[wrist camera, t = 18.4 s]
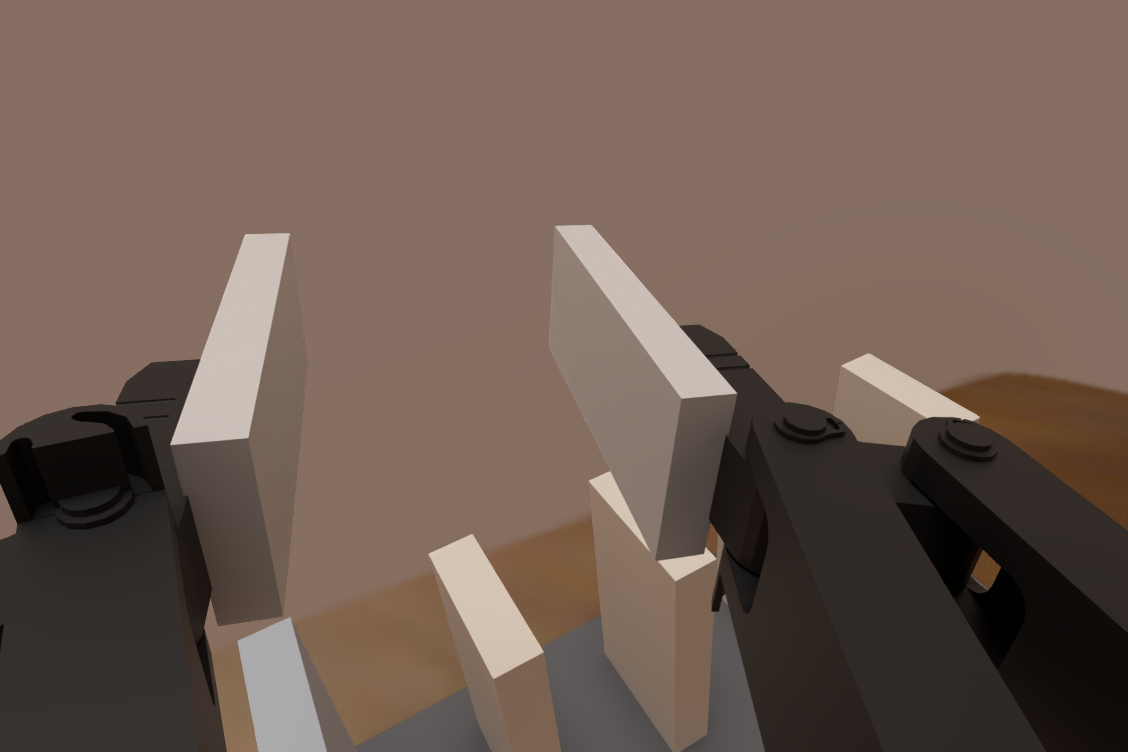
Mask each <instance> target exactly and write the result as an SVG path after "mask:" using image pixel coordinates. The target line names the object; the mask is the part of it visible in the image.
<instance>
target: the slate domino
mask: <svg viewBox="0 0 1128 752" xmlns="http://www.w3.org/2000/svg"><path fill="white" fill-rule="evenodd" d="M238 646H239V651H240V656H241V662H242V667H243V672H244V678H245V683H246V688H247V693H248V699H249V704H250V709H251V714H252V720H253V725H254V730H255V735H256V741H257V746H258V751H259V752H357V750H356V748H355V746H354V744H353V742H352V740H351V738H350V736H349V734H348V732H347V730H346V728H345V726H344V724H343V722H342V720H341V718H340V716H339V714H338V712H337V710H336V708H335V706H334V704H333V702H332V700H331V698H330V696H329V694H328V692H327V690H326V688H325V686H324V684H323V682H322V680H321V678H320V676H319V674H318V672H317V670H316V668H315V666H314V664H313V662H312V660H311V658H310V656H309V654H308V652H307V650H306V648H305V646H304V644H303V641H302V639H301V637H300V635H299V633H298V631H297V629H296V627H295V625H294V623H293V621H292V619H291V617H289V618H287V619H285V620H283V621H281V622H278V623H276V624H274V625H272V626H270V627H267V628H265V629H263V630H261V631H259V632H256V633H254V634H252V635H250V636H248V637H245V638H243V639H241V640H239V641H238Z"/></svg>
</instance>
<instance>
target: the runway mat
mask: <svg viewBox="0 0 1128 752" xmlns="http://www.w3.org/2000/svg"><path fill="white" fill-rule="evenodd" d="M713 556H714V557H715V558H716V559H717V554H715V555H713ZM716 566H717V564H716ZM971 577H972V576H971ZM972 578H973V577H972ZM973 579H974V580H975V581H976V582H977V583H978V584H980V585H981V586H982V587H984V588H985V589H987V590H989V589H988V588H987V587H985V586H984V585H983V584H981V583H980V582H979V581H977V580H976V579H975V578H973ZM541 648H542V650H543V652H544V656H545V662H546V667H547V673H548V679H549V684H550V690H551V696H552V702H553V707H554V713H555V719H556V724H557V730H558V736H559V742H560V747H561V752H672V750H671V749H670V748H669V746H668V745H667V743H666V742H665V740H664V739H663V737H662V736H661V734H660V733H659V732H658V730H657V729H656V727H655V726H654V724H653V723H652V721H651V720H650V718H649V717H648V716H647V714H646V713H645V711H644V710H643V708H642V707H641V705H640V704H639V702H638V701H637V700H636V698H635V697H634V695H633V694H632V692H631V691H630V689H629V688H628V686H627V685H626V684H625V682H624V681H623V679H622V678H621V676H620V675H619V673H618V672H617V670H616V669H615V667H614V666H613V665H612V663H611V662H610V660H609V659H608V657H607V656H606V654H605V653H604V642H603V631H602V620H601V616H599V617H597V618H595V619H593V620H591V621H590V622H588V623H586V624H584V625H582V626H580V627H578V628H577V629H575V630H573V631H571V632H569V633H567V634H565V635H563V636H562V637H560V638H558V639H556V640H554V641H552V642H550V643H548V644H547V645H545V646H543V647H541ZM355 748H356V750H357V752H491V750H490V748H489V745H488V743H487V741H486V739H485V737H484V735H483V733H482V731H481V728H480V726H479V724H478V721H477V718H476V715H475V711H474V708H473V704H472V701H471V698H470V694H469V691H468V687H466V688H464V689H462V690H461V691H459V692H457V693H455V694H453V695H451V696H449V697H447V698H446V699H444V700H442V701H440V702H438V703H436V704H434V705H433V706H431V707H429V708H427V709H425V710H423V711H421V712H419V713H418V714H416V715H414V716H412V717H410V718H408V719H406V720H404V721H403V722H401V723H399V724H397V725H395V726H393V727H391V728H390V729H388V730H386V731H384V732H382V733H380V734H378V735H376V736H375V737H373V738H371V739H369V740H367V741H365V742H363V743H361V744H360V745H358V746H356V747H355ZM681 752H765V750H764V746H763V742H762V738H761V734H760V730H759V726H758V722H757V718H756V714H755V710H754V706H753V702H752V698H751V694H750V690H749V686H748V682H747V678H746V674H745V670H744V666H743V662H742V658H741V655H740V651H739V647H738V643H737V639H736V635H735V631H734V627H733V623H732V619H731V615H730V611H729V607H728V605H727V604H726V603H725V602H724V600H723V599H722V601H721V605H720V610H719V612H714V619H713V638H712V656H711V675H710V693H709V712H708V730H707V735H706V736H704V737H702V738H701V739H699V740H698V741H696V742H695V743H693V744H691V745H690V746H688V747H687V748H685V749H684V750H682V751H681Z"/></svg>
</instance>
